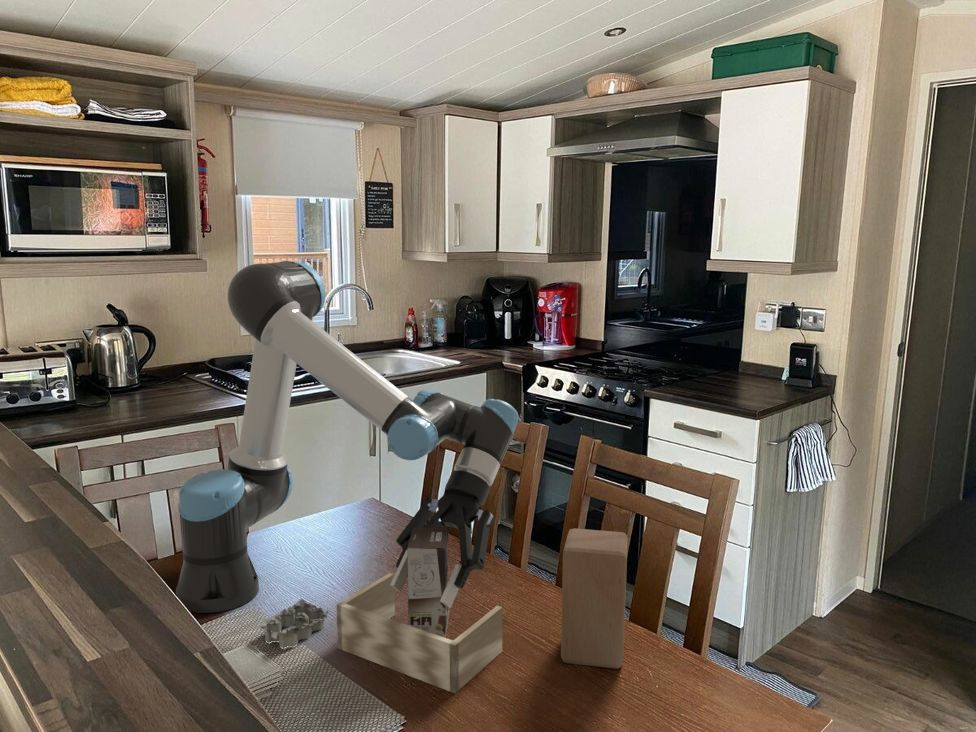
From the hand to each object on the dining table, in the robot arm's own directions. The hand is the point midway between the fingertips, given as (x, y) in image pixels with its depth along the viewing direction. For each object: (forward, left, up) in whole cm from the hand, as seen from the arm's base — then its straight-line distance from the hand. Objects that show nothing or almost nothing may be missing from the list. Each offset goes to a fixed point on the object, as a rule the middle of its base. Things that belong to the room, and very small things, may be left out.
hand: (419, 596), depth 126 cm
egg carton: (-22, -7, -10) cm, 26 cm away
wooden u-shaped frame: (0, 0, -10) cm, 10 cm away
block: (+25, +15, -10) cm, 31 cm away
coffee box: (0, +3, -7) cm, 7 cm away
